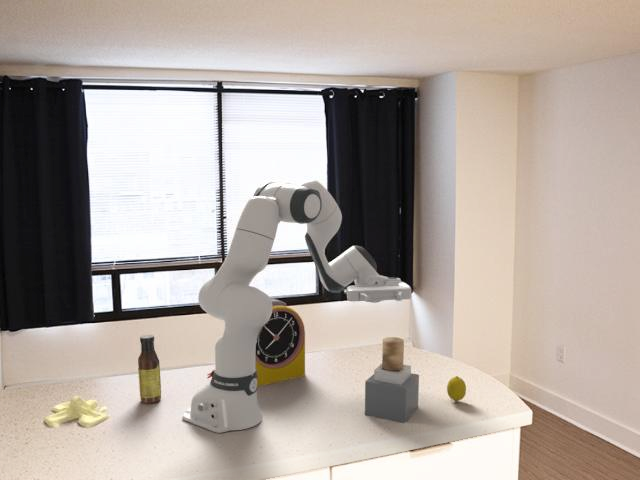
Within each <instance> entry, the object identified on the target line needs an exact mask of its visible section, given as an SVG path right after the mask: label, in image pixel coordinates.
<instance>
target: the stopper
mask: <svg viewBox="0 0 640 480" xmlns="http://www.w3.org/2000/svg"><path fill="white" fill-rule="evenodd" d="M404 345H405V340H404V339H403V338H401V337H396V336H392V337H391V336H390V337H389V336H388V337H384V338H383V339H382V361H381V362H382V363H381V364H382V368H383V369H385V370H388V371H394V372H399V371H400V370H402V369H403V365H404V358H405V356H404V355H405V353H404V352H405V349H404V347H405V346H404Z"/></svg>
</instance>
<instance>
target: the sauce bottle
mask: <svg viewBox="0 0 640 480" xmlns="http://www.w3.org/2000/svg"><path fill="white" fill-rule="evenodd" d="M154 341H155V335H153V334H144V335H141V336H140V337H139V342H140V346H141V348H140V351H141V352H140V354H139V356H138V358H137V361H138V362H137V364H138V365H137V366H138V368H137V370H138V385H139V386H138V387H139V396H140V401H141V402H142V403H143V404H155V403H157V402H159V401H161V399H162V381H161V367H160V359H159V357H158V355H157V352H156V349H155V342H154Z"/></svg>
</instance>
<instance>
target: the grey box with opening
mask: <svg viewBox="0 0 640 480" xmlns="http://www.w3.org/2000/svg"><path fill="white" fill-rule="evenodd" d="M364 386H365V387H364V390H365V391H364V415H365V416H369V417H374V418H378V419H381V420H389V421H393V422H399V423H403V424H406V423H407V422H408V420H409V419H410V418H411V417H412V415H413V414H414V413H415V412H416V410H418V408H419V396H420V395H419V393H420V392H419V388H420V374H418V373H417V374H416V373H412V365H408V364H403V369H402V370H400V371H399V372H394V371H388V370H385V369H383V368H382V363H381V364H380V365H378V366H377V367H376V368H375V369H374V371H373V374H372V375H371V376H370V377H369V378H368V379H366V380H365V384H364Z"/></svg>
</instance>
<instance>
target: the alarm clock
mask: <svg viewBox="0 0 640 480" xmlns="http://www.w3.org/2000/svg"><path fill="white" fill-rule="evenodd" d="M270 299H271V301H272V306H273V309H272V314H271V317H270V319H269V320H268V322H267V323H266V324H265V325H263V326H262V327H261V329H260V331H259V334H258V337H257V341H256V369H257V387H261V386H264V385H265V386H266V385H269V384H274V383H279V382H283V381H287V379H288V380H292V379H296V378H300V376H301V377H304V375H305V376H306V331H305V330H306V329H305V325H304V322H303V319H302V317H301V316H300V315H299V314H298V312H297V311H296V310H294V309H292V308H291V307H288V306H287V303H286V302H284V301H281V300H279V299H274V298H270ZM295 377H296V378H295ZM291 378H292V379H291Z"/></svg>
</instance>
